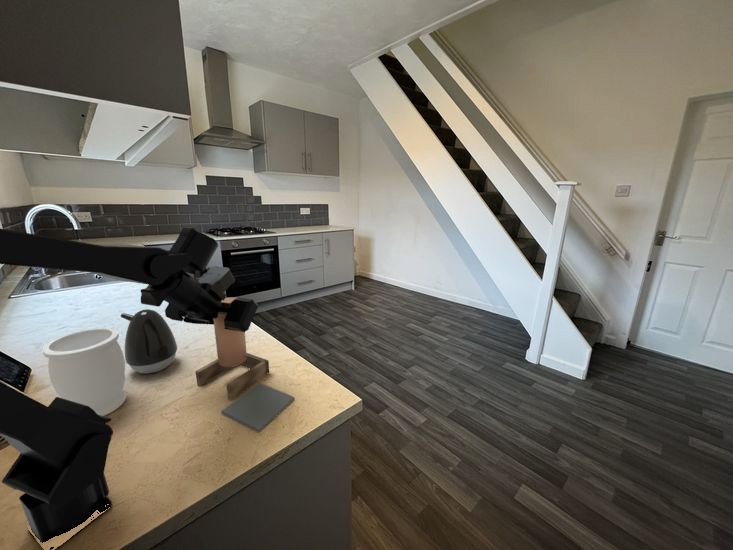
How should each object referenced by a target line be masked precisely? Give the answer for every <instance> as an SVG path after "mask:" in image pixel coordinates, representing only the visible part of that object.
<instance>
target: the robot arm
mask: <svg viewBox="0 0 733 550" xmlns="http://www.w3.org/2000/svg"><path fill="white" fill-rule="evenodd" d="M218 248H219V243H218V241H217V240H216V239H214V238H213V237H210V236H209V235H207V234H205V233H202V232H200V231H198V230H196V229H195V228H194V227H189V226H188V227H186V226H184V227H183V228H182V229H181V230H180V232H179V234H178V236H177V238H176V239H175V241H174V243H173V245H172V247H170V249H169V250H166V249H164V248H162V247H155V246H145V245H134V244H115V243H114V244H108V243H105V244H96V243H95V244H93V243H87V242H82V241H77V240H72V239H71V240H70V239H65V238H59V237H53V236H48V235H47V236H46V235H41V234H35V233H29V232H23V231H17V230H11V229H7V228H6V229H5V228H0V265H6V266H7V265H9V266H19V267H21V266H22V267H31V268H33V267H34V268H41V269H52V270H53V269H54V270H64V271H73V272H74V271H76V272H86V273H90V274H94V275H98V276H101V277H103V278H104V277H105V278H107V279H108V278H109V279H114V280H116V281H121V282H122V281H123V282H127V283H128V282H129V283H136V284H143V285H147V286H146V287H145V288H141V289H140V293H141V294H140V295H141V296H140V304H141V305H146V306H152V307H153V306H154V307H160V306H162V304H163V302H164V301H165V302H166V303H168V305H167V306H166V308H165V309H164V314H165V317H166V318H168V319H170V320H172V321H176V322H184V323H187V324H192V325H193V324H194V325H210V326H211V325H213V326H214V320H213V319H217V317H218V314H222V315H226V316H225V319H224V326H225V328H224V329H228V330H233V331H241V332H245V333H246V332H247V331H249V330H250V327H251V324H252V322H253V320H254V317H255V315H256V313H257V310H258V308H259V304H258V303H257V302H256V301H255V300H254V299H253V298H252V299H251V298H243V297H236V299H234V300H233V301H232V302H231V303H224V302H221V301H222V300H224V299H225V298H227V294H226V293H225V292H226V290H228V289H229V287H230V286H231V285H232V284H234V283H235V281H236V279H235V278H234V275H233V274H232V272H231V269H230V268H229V267H226V266H225V267H224V266H216V265H215V266H212V267H211V266H208V265H209V264H210V261H211V259H212V258H213V257H214V255H215V252H216V250H217V249H218ZM207 266H208V267H207ZM190 274H191V275H190ZM192 275H193V276H192ZM110 421H112V418H110V417H108V416H101V415H98V414H97V413H96V412H95V411H94V410H93V409H92V408H90V407H89V406H86V405H83V404H80V403H76V402H73V401H70V400H66V399H63V398H60V397H59V396H55V398H54V399H53V400H52V401H51V403H50V404H49V405H48V406H47V405H45V404H43V403H41V402H39V401H38V400H36V399H34V398H32V397H30V396H28V395H26V394H25V393H22V392H21V391H19V390H17V389H15V388H13V387H11V386H9V385H8V384H6V383H3V382H2V381H0V436H2V437H3V438H4V439H5V441H7V442H8V443H9V445H10V446H11V447H12V448H14V449H15V450H16V451H18V453H20V454H19V455H18V457H17V458H16V460H15V461H14V463H12V465H11V466H10V468H9V470H7V472H6V474H5V476H3V478H2V479H1V483H2V484H3V485H5V486H7V487H9V488H11V489H13V490H17V491H19V492H22V493H23V494H22V495H20V496H19V501H20V504H21V506H22V509H23V511H24V515H25V517H26V519H27V521H28V522H27V523H28V524H29V525H30V527H31V530H32V532H33V533H34V534H35V536H36V537H37V538H38V539H39V540H40V542H42V543H43V542H46V541H48V540H49V539H51V538H53V537H55V536H59V535H61V534H63V533H66V532H68V531H70V530H71V529H73V528H75V527H77V526H78V525H80V524H82V523H83V522H85V521H86V520H87V519H88V518H89V517H91V515H92V514H93V513H94V512H95V511H96V510H98V511H99V512H100V513H101V512H103V511H105V510H106V509H108V508H109V507H111V505H112V506H113V503H112V501H111V500H110V499H109V498H108V497H107V496H108V495H109V493H110V490H109V487H108V483H107V479H106V475H105V469H106V468H105V467H106V463H107V457H108V453H109V451H108V450H109V446H110V444H111V442H112V436H113V434H114V430H113V428H112V427H111V426H110V425H109V424H107V423H110ZM107 504H109V505H108V506H106V507H105V505H107ZM111 508H112V507H111ZM97 513H98V512H97ZM98 514H99V513H98ZM92 516H93V515H92ZM93 518H94V517H93ZM91 520H92V519H91Z"/></svg>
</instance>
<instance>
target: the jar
mask: <svg viewBox="0 0 733 550" xmlns="http://www.w3.org/2000/svg"><path fill="white" fill-rule="evenodd" d="M118 340H119V331H118V330H117V329H115V328H110V327H96V328H89V329H84V330H78V331H74V332H71V333H67V334H65V335H62V336H59V337H57V338H55V339H53V340H51V341H50V342H47V343H46V344H45V345H43V347H42V350H41V351H42V354H43V356H44V357H45V358H47V359H48V361H47V363H48V364H47V368H48V369H47V370H48V374H49V376H48V377H49V379H50V383H51V385H52V386H53V389H54V391H56V393H57V395H58V397H59V398H63V399H66V400H70V401H73V402H76V403H80V404H83V405H86V406H89V407H90V408H92V409H93V410H94V411H95V412H96V413H97V414H98V415H101V416H104V417H106V415H109V414H110V413H113V412H115V410H117V409H118V408H120V407H121V406H122V405H123V404H124V403H125V401H126V399H127V395H126V393H125V392H124V391H123V390H124V387H125V383H126V373H125V372H126V360H125V355H124V353H123V350H122V348H121V345H120V344H119V343H118Z"/></svg>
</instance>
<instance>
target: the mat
mask: <svg viewBox="0 0 733 550" xmlns="http://www.w3.org/2000/svg"><path fill="white" fill-rule="evenodd" d="M293 399H294V400H295V396H293V395H291V394H288V393H286V392H283V391H280V390H278V389H276V388H273V387H271V386H268V385H266V384H263V383H261V382H259V383H258V384H256V385H255V386H254V387H252V388H251V389H249V390H248V391H247V392H245V393H244V394H242V395H241V396H240V397H239V398H237V399H235V400H234V401H233V402H232V403H230V404H229V405H227V406H226V407H225V408H223V409H222V410H221V415H224V416H226V417H227V418H230V419H232V420H233V421H236V422H238V423H240V424H242V425H243V426H246V427H247V428H250V429H252V430H254V431H256V432H258V433H260V432H261V431H262V430H263V429H265V427H266V426H268V424H270V422H271V421H273V420H274V419H275V418H276V417H277V416H278V415H280V413H281V412H283V409H284V408H285V407H286V406H287V405H288V404H289V403H290V402H291V403H292V402H293V401H294V400H293ZM292 400H293V401H292ZM291 403H290V404H291ZM290 404H289V405H290ZM289 405H288V406H289ZM288 406H287V407H288ZM287 407H286V408H287ZM286 408H285V409H286ZM285 409H284V410H285ZM279 412H280V413H279ZM276 415H277V416H276ZM274 417H275V418H274ZM273 418H274V419H273ZM259 431H260V432H259Z"/></svg>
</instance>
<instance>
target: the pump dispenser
mask: <svg viewBox="0 0 733 550" xmlns="http://www.w3.org/2000/svg"><path fill="white" fill-rule="evenodd" d="M120 317H121V318H122V319H124V320H127V321H129V323H128V326H127V329H126V333H125V339H124V360H125V364H126V365H127V364H128V365H129V367H130V368H131V369H132V370H133V371H135V372H137V373H140V374H152V373H157V372H160V371H162V370H164V369H166V368H167V367H169V366H170V365H172V363H173V362H174V359H175V357H176V355H177V351H178V345H177V341H176V338H175V335H174V333H173V331H172V329H171V328H170V326H169V324H168V323H167V321H166V319H165V318H164V317H163V316H162V315H161V314H160V313H159V312H158V311H156V310H153V309H147V308H146V309H142V310H139V311H137V312H135V313H134V315H132V314H128V313H125V312H123V313H121V314H120Z"/></svg>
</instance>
